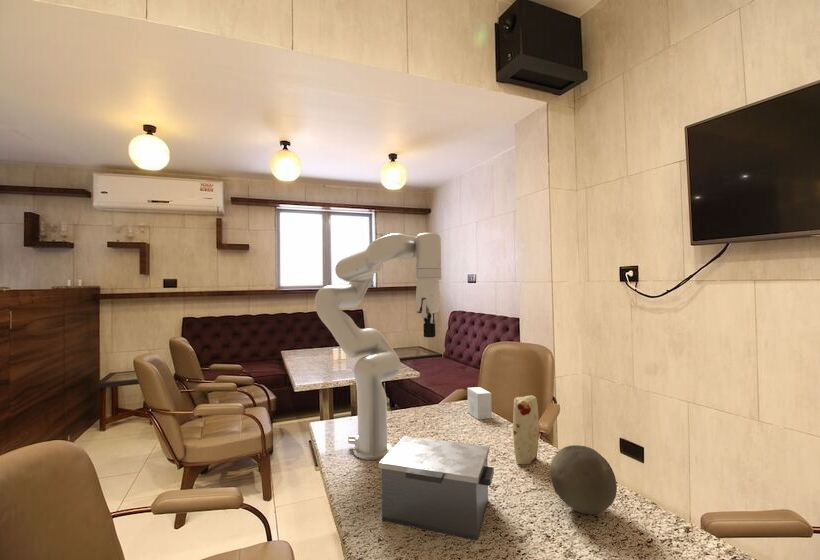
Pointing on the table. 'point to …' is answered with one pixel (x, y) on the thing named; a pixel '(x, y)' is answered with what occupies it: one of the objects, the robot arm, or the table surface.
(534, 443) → the food model
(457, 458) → the lid
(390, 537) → the table surface
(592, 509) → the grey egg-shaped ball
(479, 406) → the skincare box
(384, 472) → the grey lidded box
